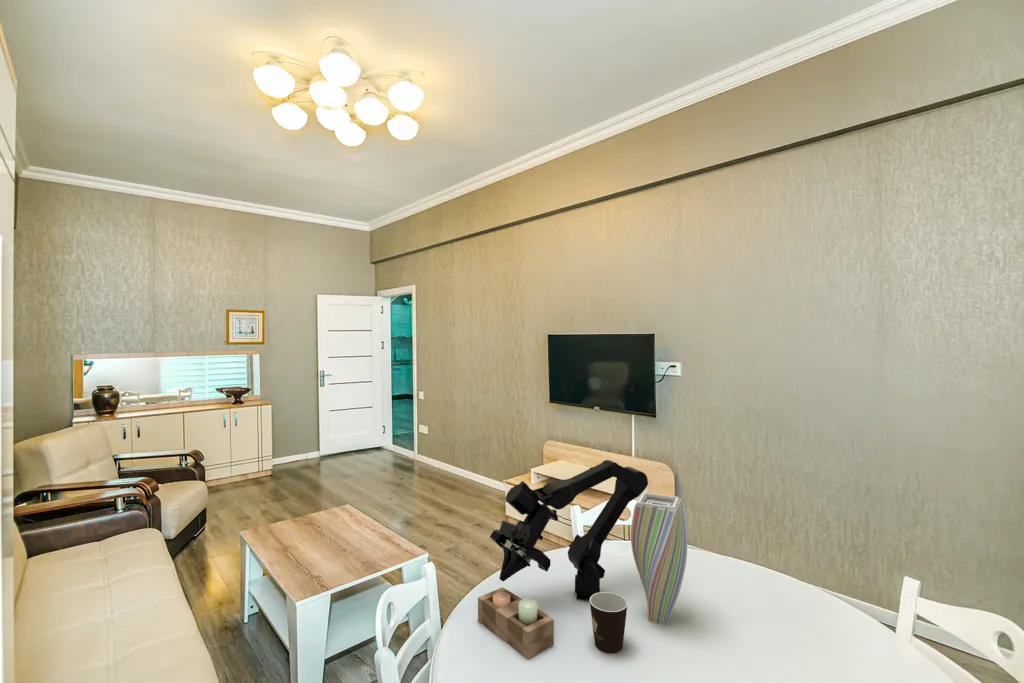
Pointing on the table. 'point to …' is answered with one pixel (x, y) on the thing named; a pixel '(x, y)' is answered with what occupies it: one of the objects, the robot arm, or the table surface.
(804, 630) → the table surface
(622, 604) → the brown paper cup
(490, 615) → the wooden compartment box
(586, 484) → the robot arm
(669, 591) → the vase
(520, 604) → the pale green egg
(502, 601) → the peach orange egg
